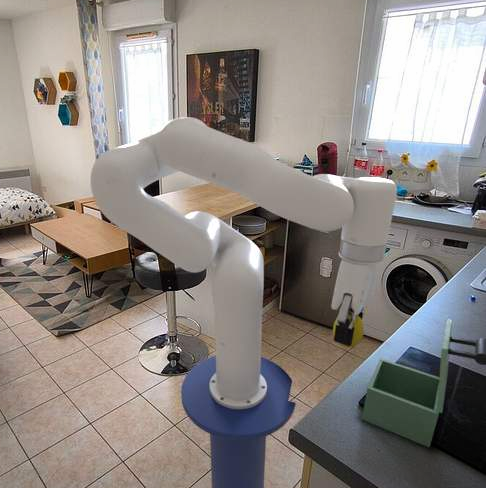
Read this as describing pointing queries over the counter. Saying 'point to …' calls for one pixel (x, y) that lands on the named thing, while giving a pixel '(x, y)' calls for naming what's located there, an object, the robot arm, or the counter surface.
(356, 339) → the lemon
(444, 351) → the lid
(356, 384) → the counter surface
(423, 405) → the box
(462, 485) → the counter surface
